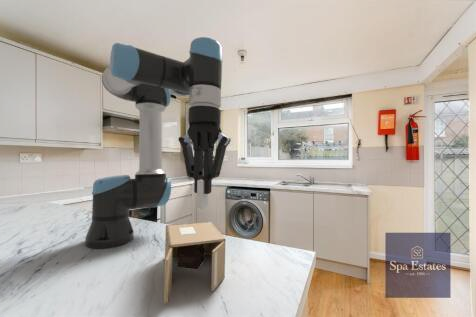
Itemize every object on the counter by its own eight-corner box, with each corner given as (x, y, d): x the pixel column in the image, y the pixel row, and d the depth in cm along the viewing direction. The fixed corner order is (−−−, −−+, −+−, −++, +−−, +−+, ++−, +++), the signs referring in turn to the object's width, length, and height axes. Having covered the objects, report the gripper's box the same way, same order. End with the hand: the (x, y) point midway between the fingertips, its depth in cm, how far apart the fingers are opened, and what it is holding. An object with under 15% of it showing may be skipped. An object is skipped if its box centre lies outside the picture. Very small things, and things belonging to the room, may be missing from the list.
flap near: (171, 286, 51) (172, 248, 51) (166, 303, 45) (167, 260, 45) (168, 286, 51) (169, 248, 51) (163, 304, 45) (164, 260, 45)
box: (196, 270, 59) (197, 243, 59) (176, 268, 61) (177, 241, 61) (204, 260, 65) (205, 236, 65) (186, 258, 67) (186, 234, 67)
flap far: (211, 290, 50) (212, 251, 50) (221, 277, 55) (222, 241, 55) (213, 291, 49) (214, 251, 49) (224, 277, 55) (224, 242, 55)
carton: (164, 258, 66) (165, 225, 66) (210, 252, 71) (210, 221, 71) (167, 287, 51) (168, 244, 51) (224, 277, 56) (225, 238, 56)
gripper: (172, 105, 50) (169, 207, 50) (223, 102, 46) (220, 213, 46) (189, 112, 57) (187, 201, 57) (236, 110, 53) (233, 206, 53)
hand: (202, 207), depth 52 cm, fingers closed
